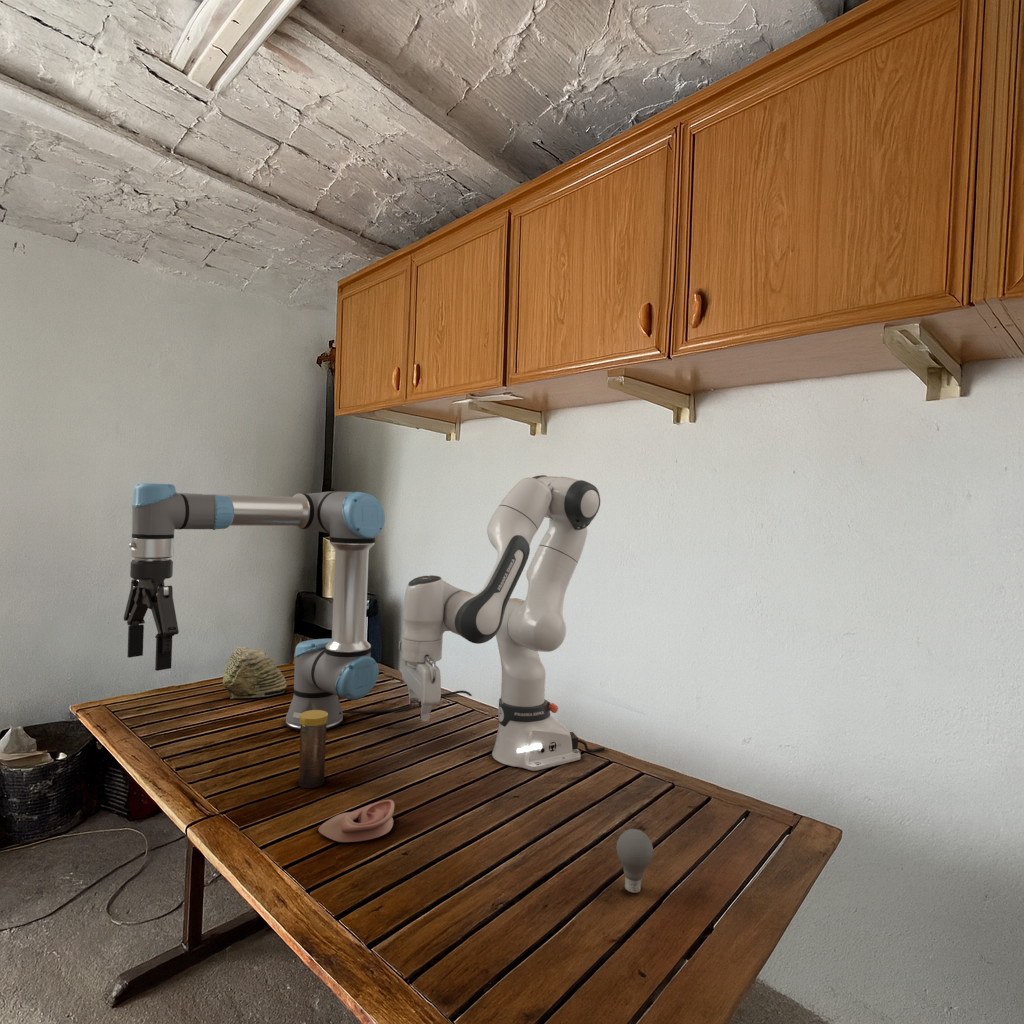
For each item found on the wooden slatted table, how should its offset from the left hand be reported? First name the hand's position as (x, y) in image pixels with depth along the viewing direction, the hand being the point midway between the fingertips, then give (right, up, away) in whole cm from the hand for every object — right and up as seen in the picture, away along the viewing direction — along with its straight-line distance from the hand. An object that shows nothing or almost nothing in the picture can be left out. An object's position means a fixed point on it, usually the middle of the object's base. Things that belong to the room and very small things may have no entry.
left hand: (148, 662), depth 129 cm
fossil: (-6, -27, +69) cm, 74 cm away
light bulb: (+94, -33, -24) cm, 103 cm away
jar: (+30, -29, +11) cm, 43 cm away
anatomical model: (+44, -30, -8) cm, 54 cm away
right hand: (+54, -13, +10) cm, 56 cm away
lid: (+30, -14, +10) cm, 35 cm away
